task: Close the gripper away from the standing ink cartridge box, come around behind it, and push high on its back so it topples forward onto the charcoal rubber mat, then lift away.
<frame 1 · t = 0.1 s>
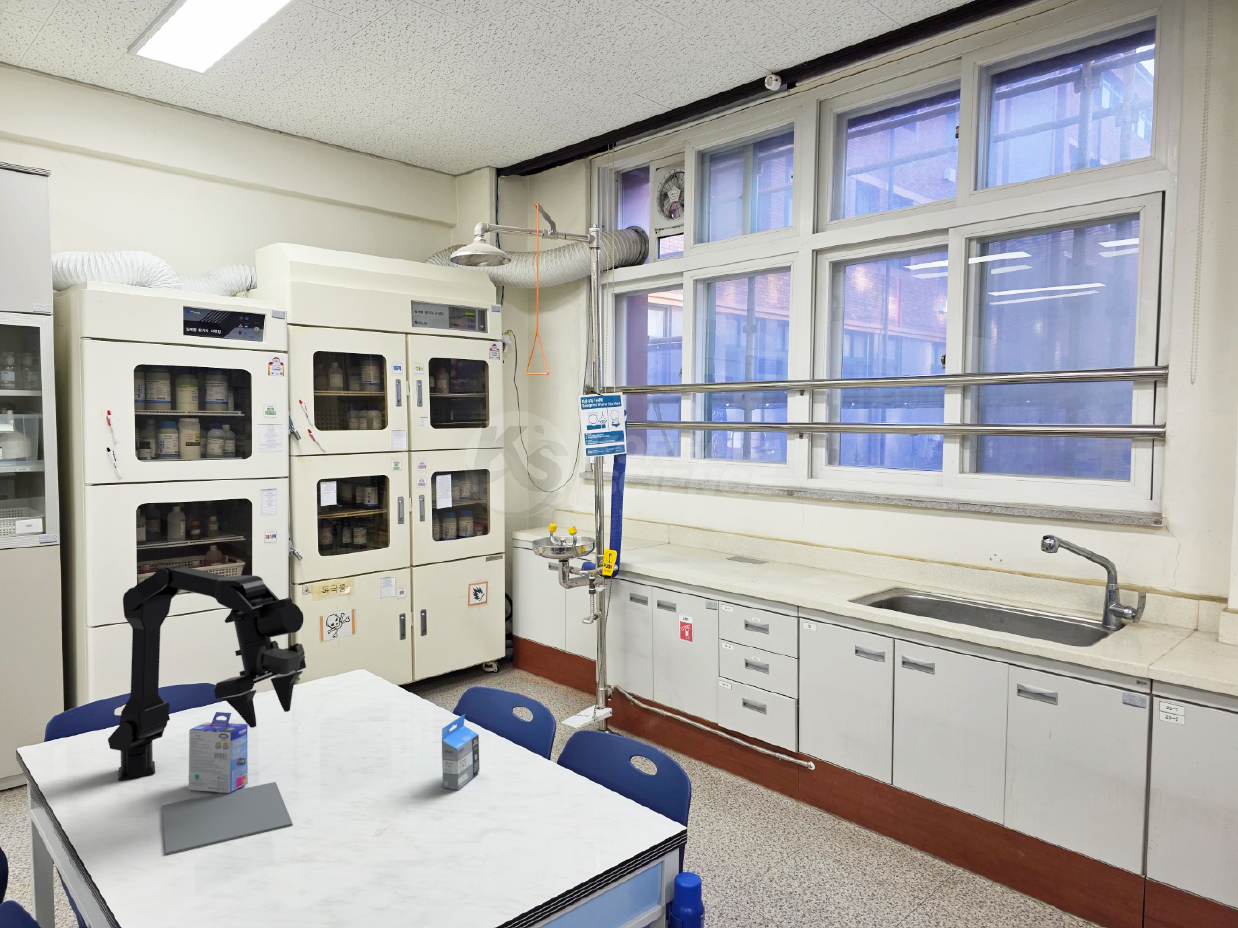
hand: (270, 719, 154), 15 cm above the table, tool pointing down, fingers open, 9 cm apart
ink cartridge box: (219, 787, 158), on the table, touching charcoal mat
label tape box: (460, 781, 163), on the table
charcoal mat: (225, 815, 147), on the table
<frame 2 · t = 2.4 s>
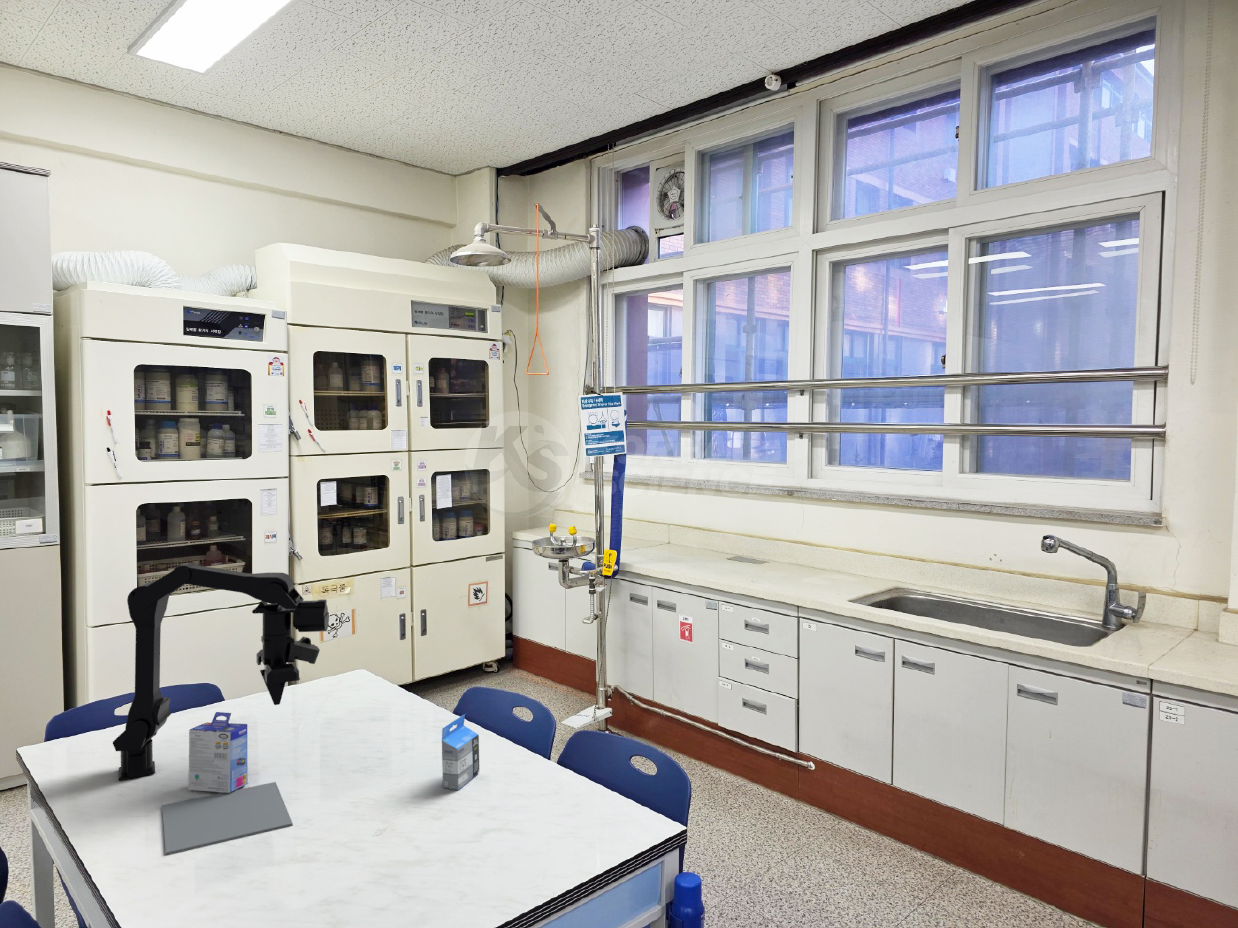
hand: (276, 704, 170), 13 cm above the table, tool pointing down, fingers closed
nothing on the table moved.
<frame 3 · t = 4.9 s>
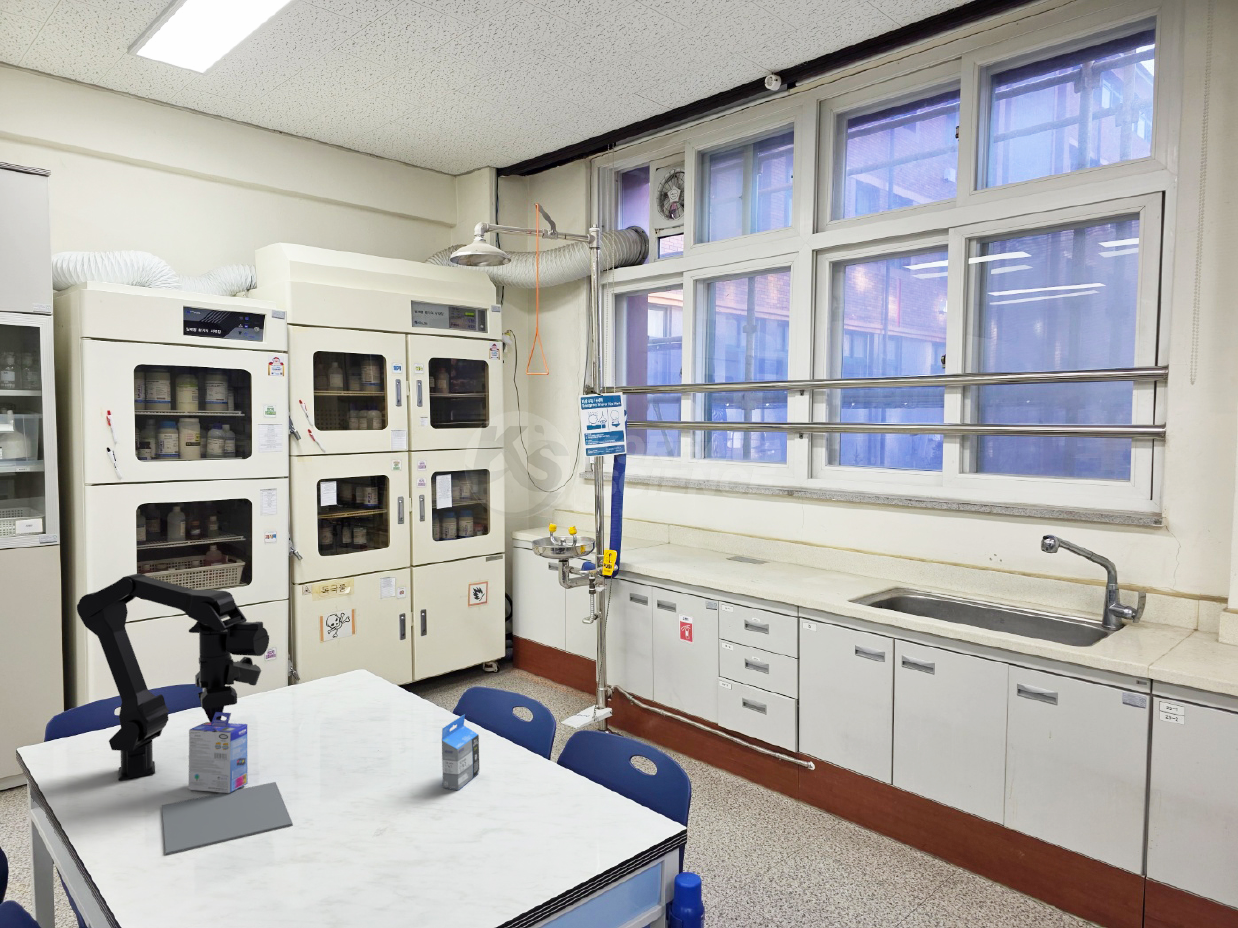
hand: (215, 728, 163), 10 cm above the table, tool pointing down, fingers closed
ink cartridge box: (219, 787, 158), on the table, touching charcoal mat, gripper
everything else where it was.
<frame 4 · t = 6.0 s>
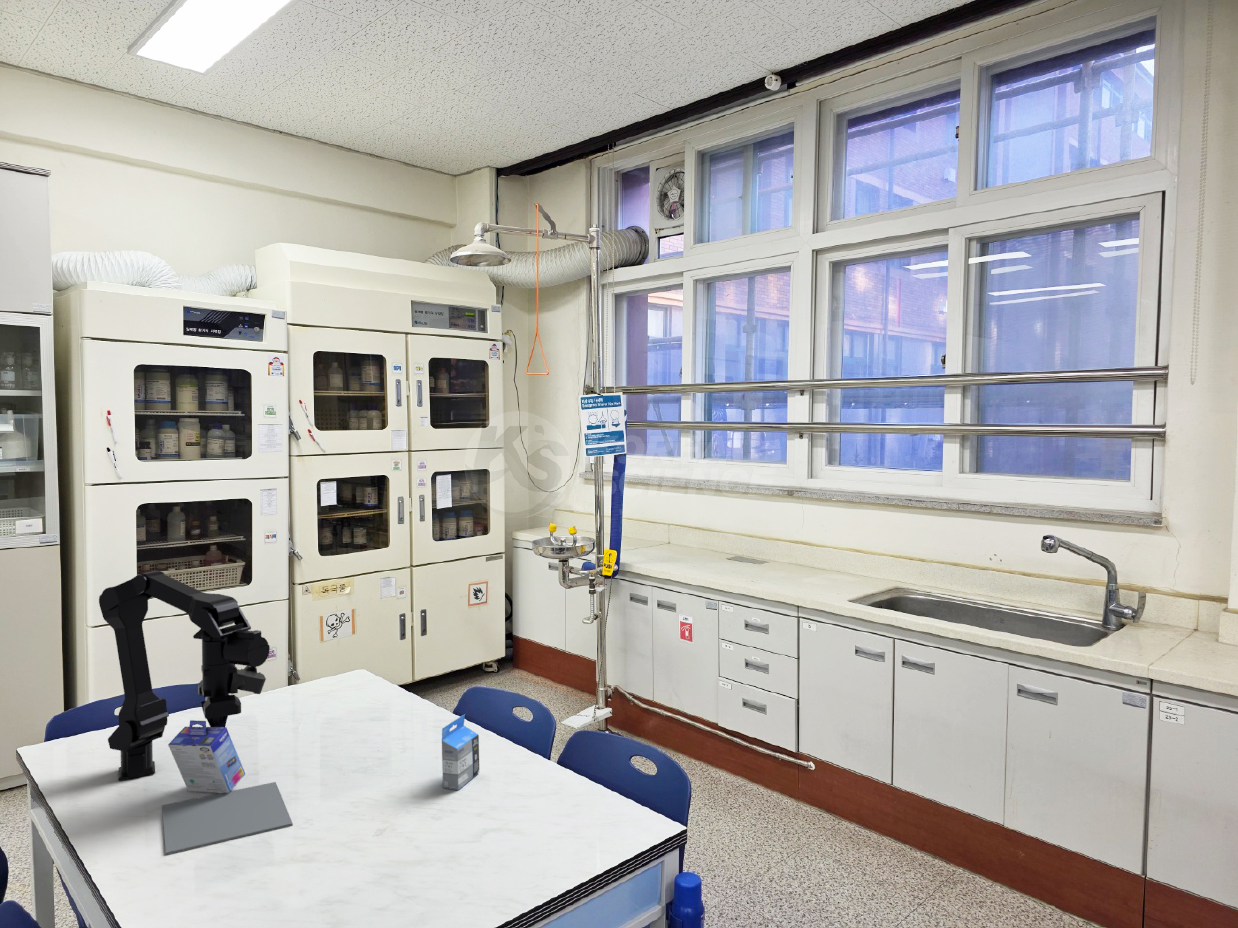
hand: (219, 738, 158), 10 cm above the table, tool pointing down, fingers closed
ink cartridge box: (218, 782, 158), point 1 cm above the table, touching charcoal mat
everything else where it was.
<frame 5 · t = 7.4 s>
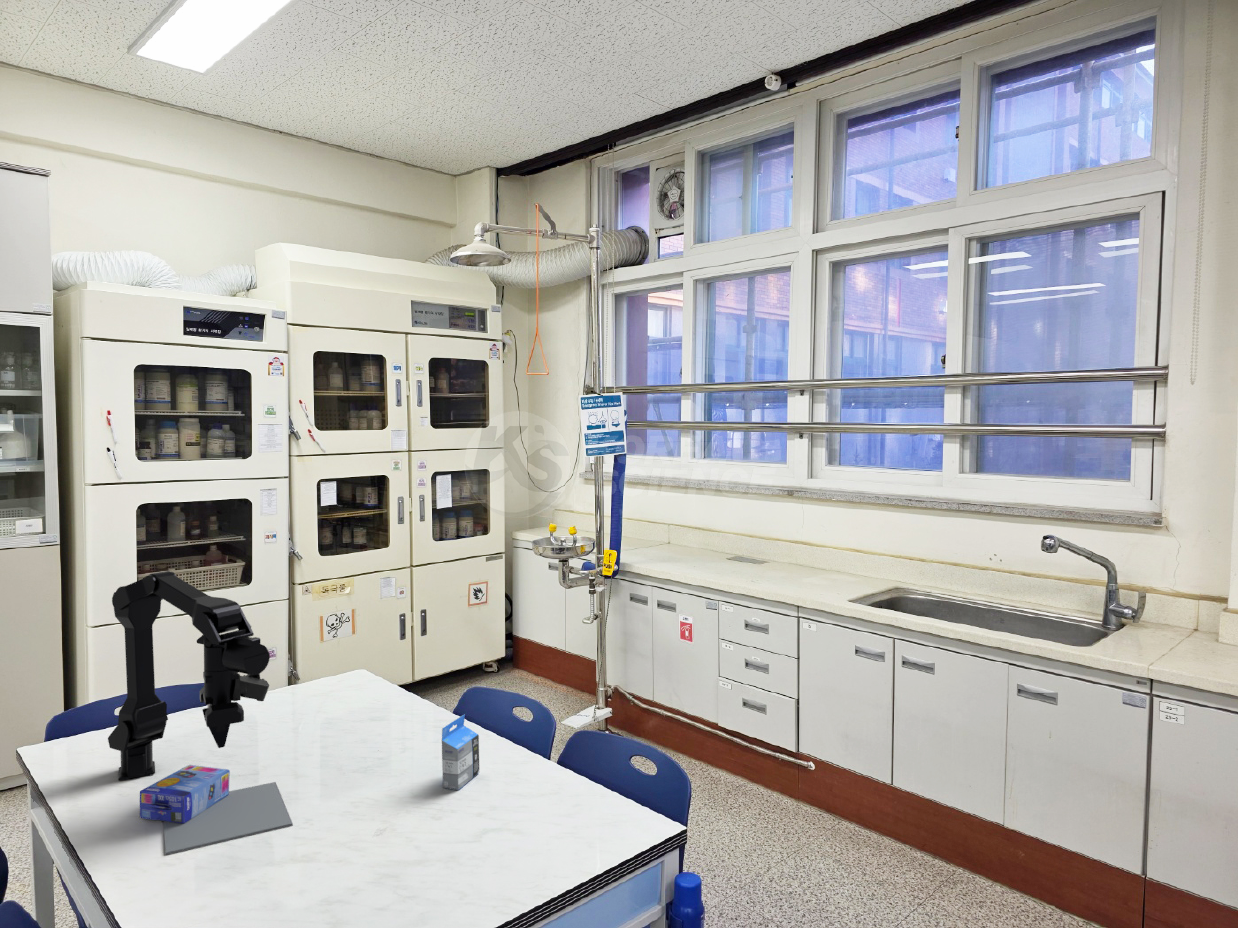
hand: (221, 746, 154), 10 cm above the table, tool pointing down, fingers closed
ink cartridge box: (209, 778, 155), point 3 cm above the table, touching charcoal mat
everything else where it was.
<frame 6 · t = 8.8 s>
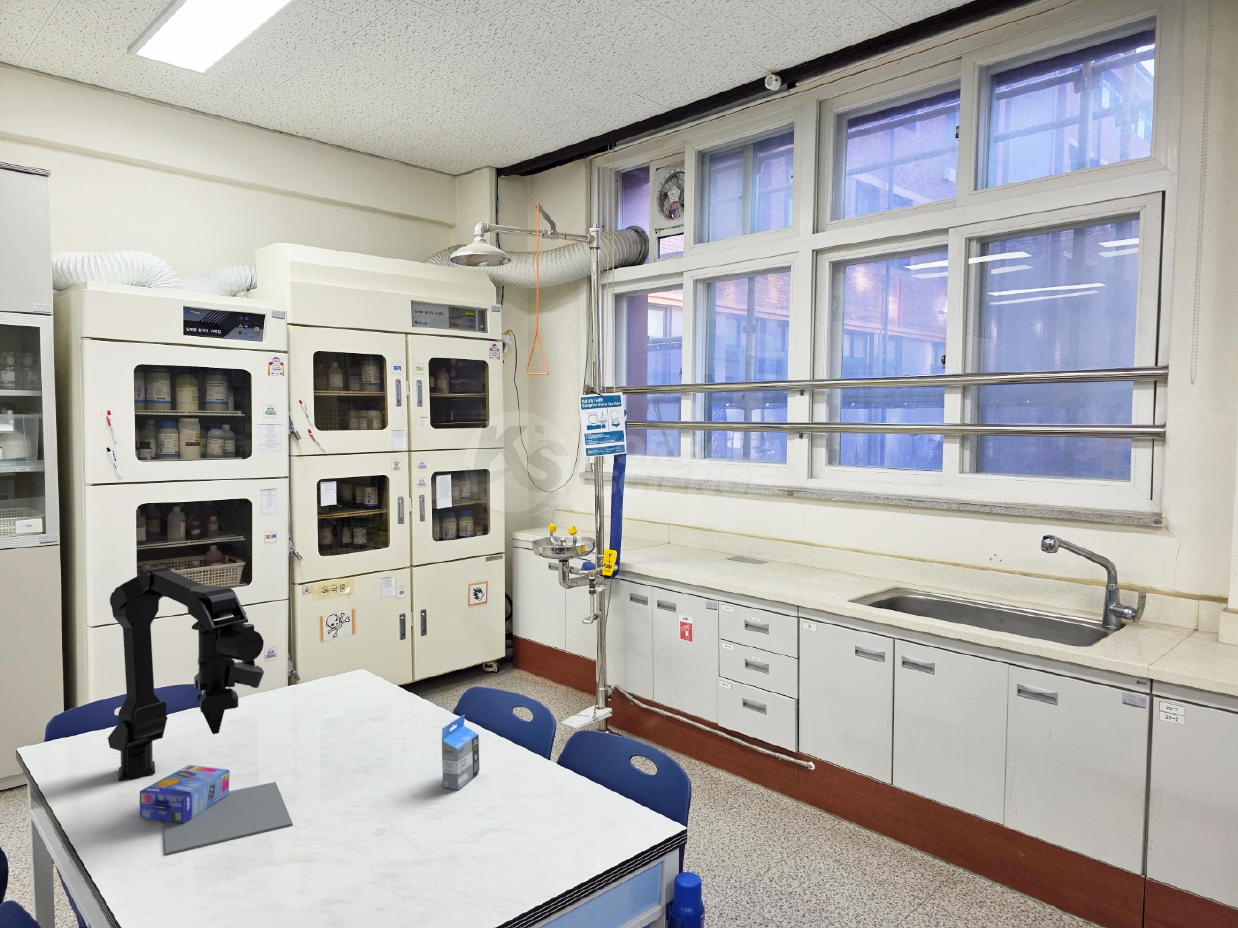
hand: (215, 733, 153), 13 cm above the table, tool pointing down, fingers closed
nothing on the table moved.
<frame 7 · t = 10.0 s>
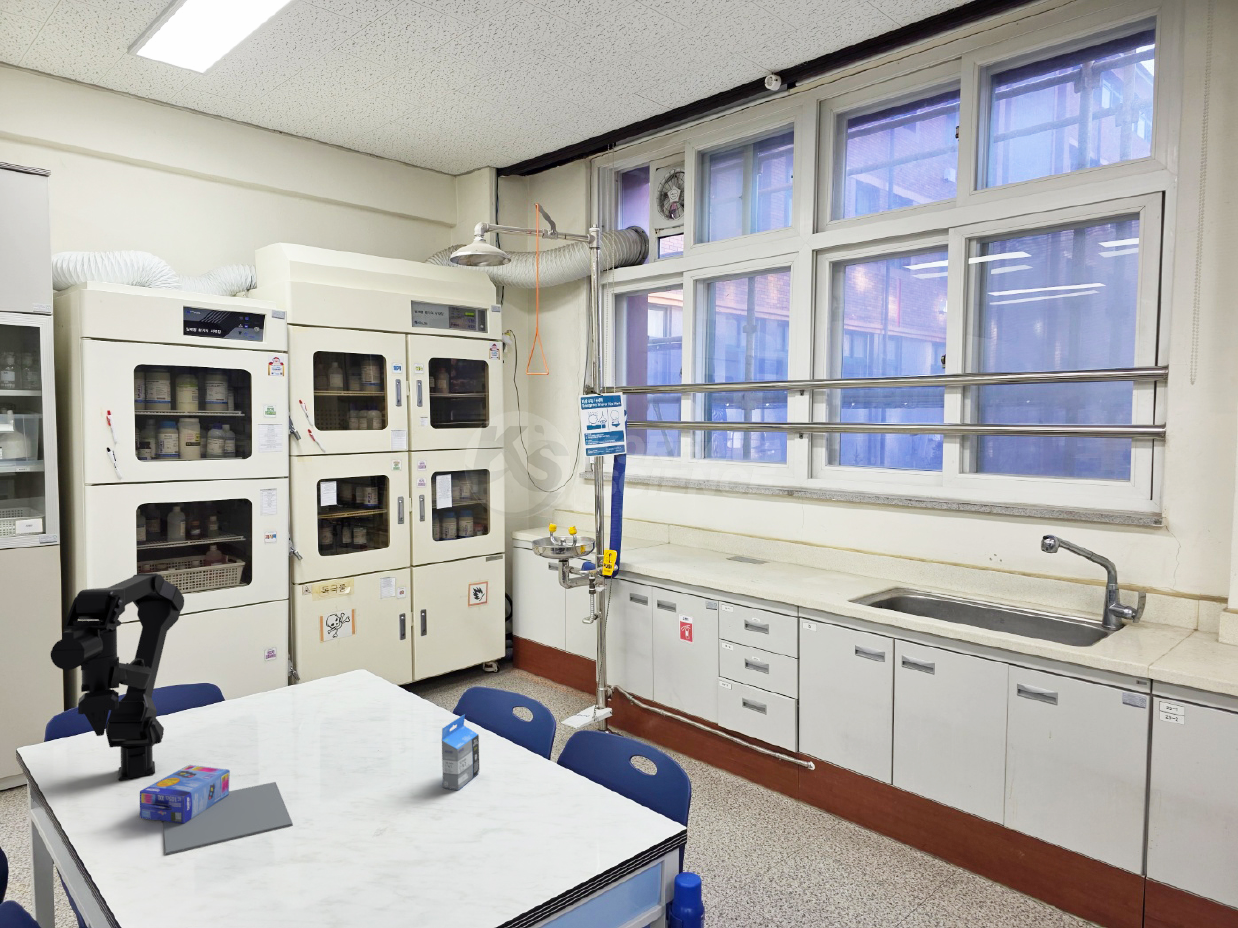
hand: (100, 735, 151), 13 cm above the table, tool pointing down, fingers closed
nothing on the table moved.
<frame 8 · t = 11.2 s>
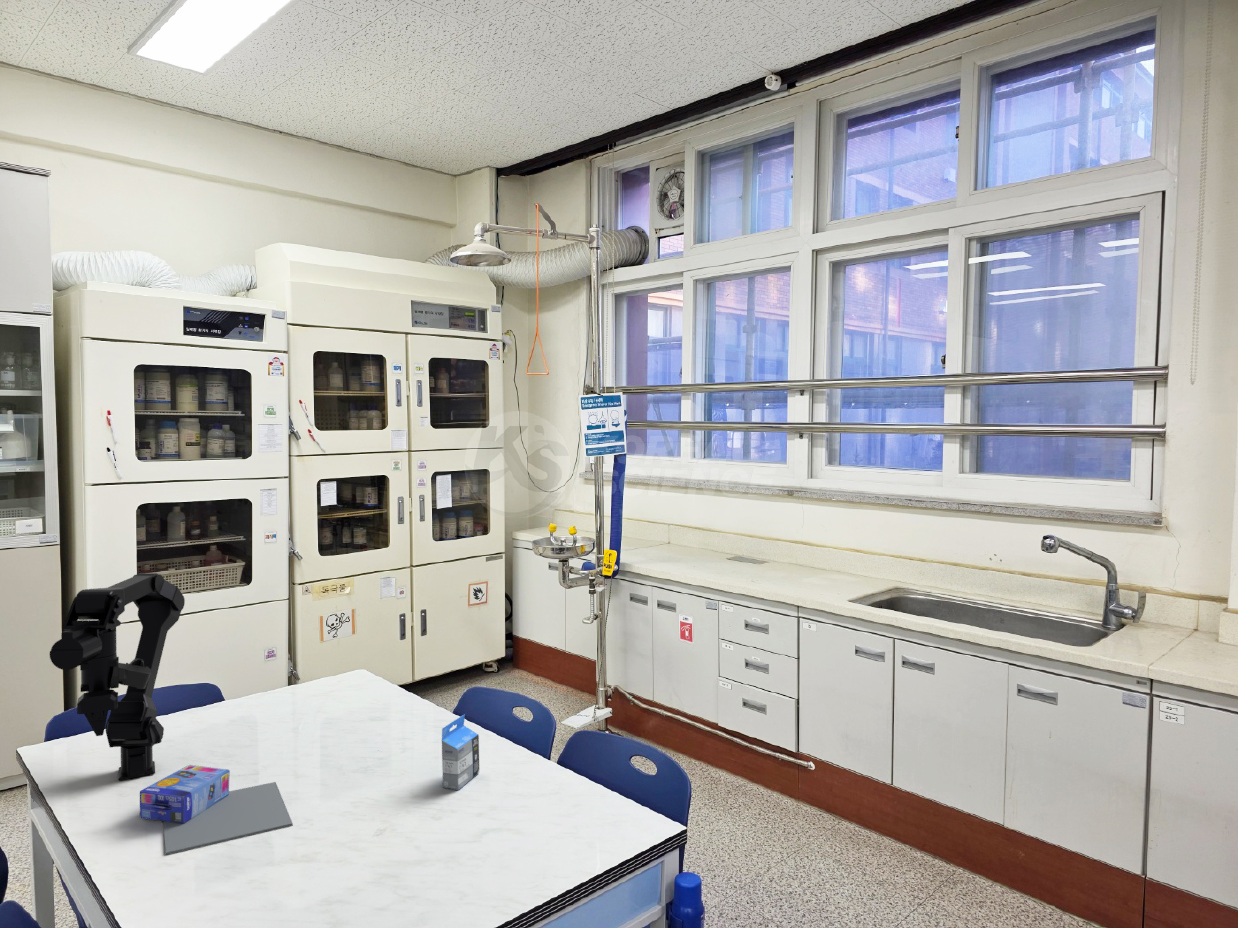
hand: (99, 735, 151), 13 cm above the table, tool pointing down, fingers closed
nothing on the table moved.
at the end: ink cartridge box tilted 92°; ink cartridge box touching charcoal mat; ink cartridge box inside the target area (6.8 cm from its centre), point 3.2 cm above the table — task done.
